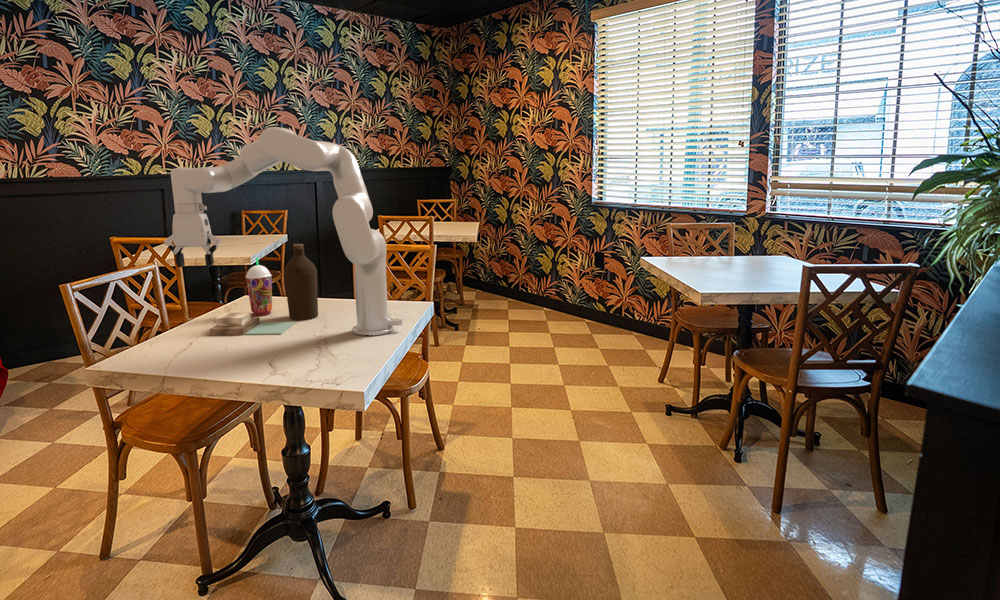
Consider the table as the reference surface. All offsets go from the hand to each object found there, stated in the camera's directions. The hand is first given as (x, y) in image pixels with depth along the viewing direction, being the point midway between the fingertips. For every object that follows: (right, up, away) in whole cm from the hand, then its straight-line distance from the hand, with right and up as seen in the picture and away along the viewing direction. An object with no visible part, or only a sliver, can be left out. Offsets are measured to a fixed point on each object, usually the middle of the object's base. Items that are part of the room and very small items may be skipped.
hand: (195, 266), depth 184 cm
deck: (+10, -20, +5) cm, 23 cm away
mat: (+21, -20, +5) cm, 29 cm away
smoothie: (+11, -16, +24) cm, 31 cm away
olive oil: (+27, -16, +20) cm, 37 cm away
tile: (+10, -16, +4) cm, 20 cm away
